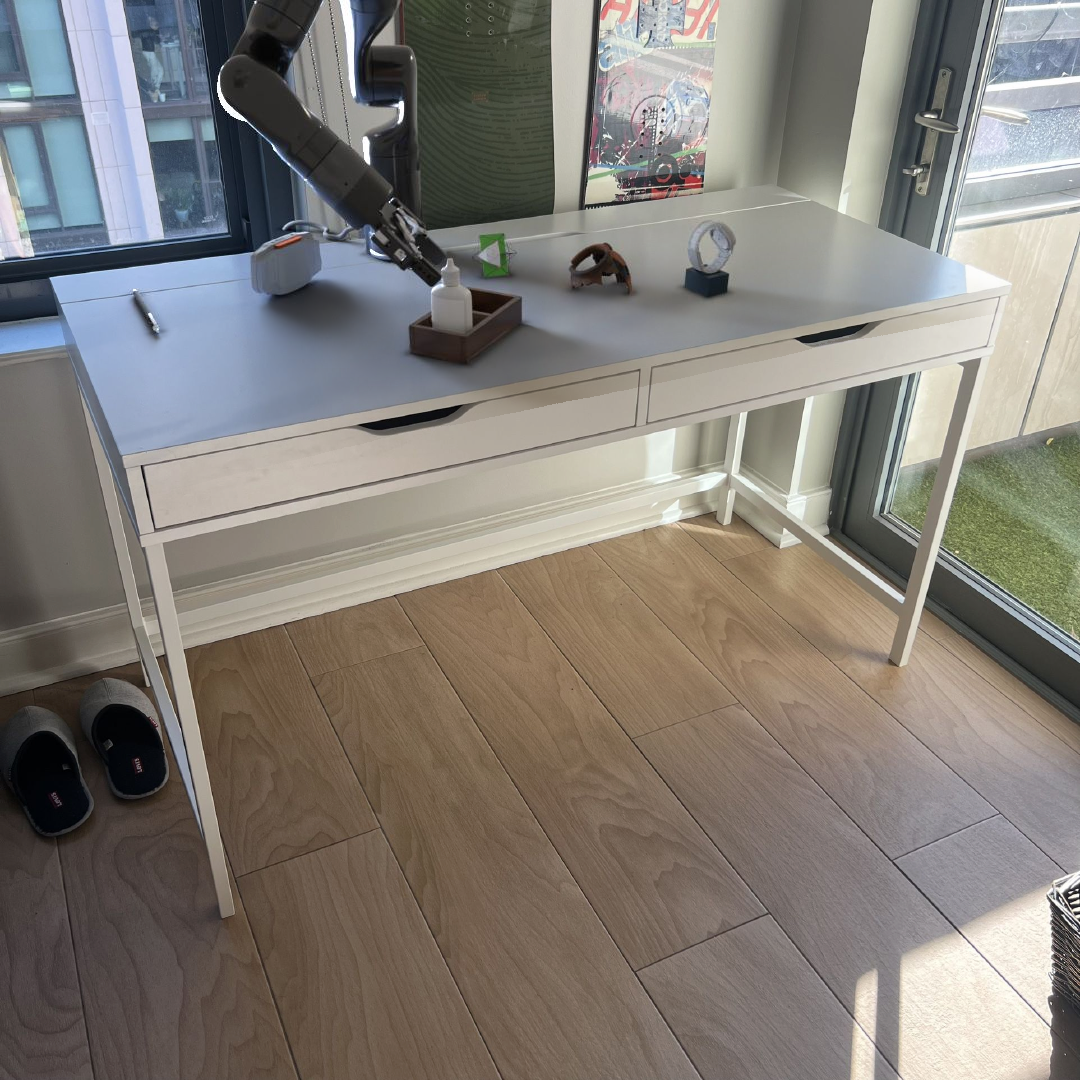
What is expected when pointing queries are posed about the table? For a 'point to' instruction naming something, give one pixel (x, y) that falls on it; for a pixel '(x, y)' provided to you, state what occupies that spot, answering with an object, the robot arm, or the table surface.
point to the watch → (710, 276)
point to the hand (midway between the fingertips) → (439, 271)
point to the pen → (146, 310)
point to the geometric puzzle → (493, 255)
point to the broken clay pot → (599, 267)
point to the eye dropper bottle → (451, 302)
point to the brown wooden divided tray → (489, 325)
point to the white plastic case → (285, 263)
